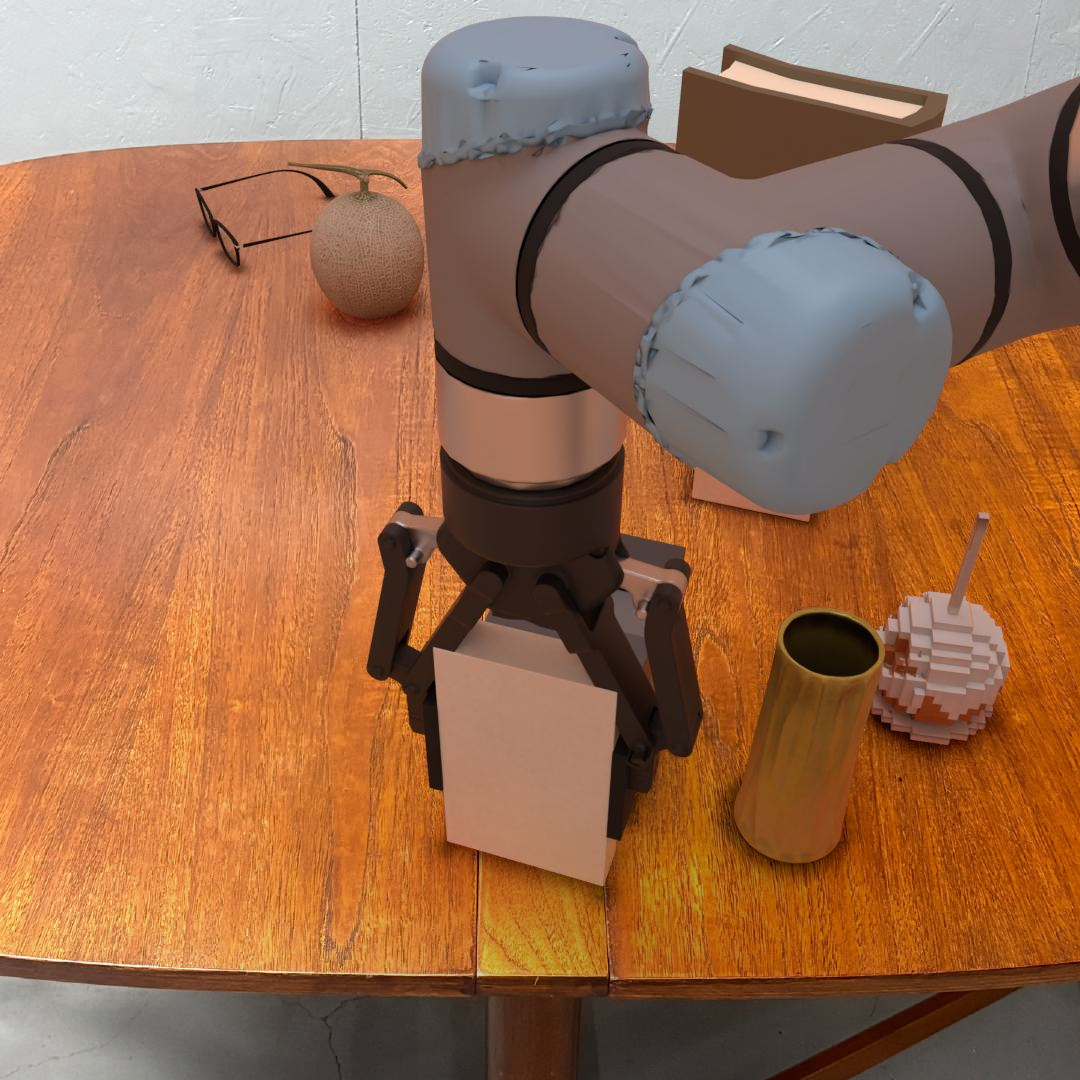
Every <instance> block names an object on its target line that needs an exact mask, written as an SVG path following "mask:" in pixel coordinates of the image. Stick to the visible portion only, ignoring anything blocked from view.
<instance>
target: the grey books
mask: <svg viewBox="0 0 1080 1080" xmlns="http://www.w3.org/2000/svg"><path fill="white" fill-rule="evenodd" d="M620 533H621V537H622V540H623V542H624V544H625V546H626V548H627V550H628V552H629V555H630V558H632V559H635V560H638V561H641V562H645V563H648V564H651V565H654V566H657V567H660V568H663V567H664V565H665V563H666V561H668V560H669V559H673V558H678V559H682V560H684V561H685V558H686V550H687V547H686V546H682V545H677V544H673V543H667V542H664V541H659V540H655V539H651V538H644V537H642V536H641V537H640V536H636V535H631V534H628V533H627V534H626V533H622V532H620ZM611 596H612V598H613V601H614V613H615V616H616V618H617V620H618V622H619V624H620V626H621V628H622V630H623V632H624V634H625V636H626V638H627V640H628V641H629V643H630V645H631V647H632V649H633V651H634V653H635V655H636V657H637V659H638V661H639V663H640V665H641V666H642V668H643V670H644V672H645V674H646V676H647V678H648V680H649V682H650V684H651V686H652V688H653V689H654V691H655V688H654V683H653V679H652V674H651V669H650V664H649V660H648V655H647V650H646V645H645V639H644V627H645V621H646V620H640V619H638V618H637V617H636V615H635V613H636V609H635V608H634V605H633V600H632V597H631V595H630V593H629V592H628V591H626V590H625V589H623V588H619V589H618V590H617V591H616V592H614V593H613V594H612V595H611ZM484 621H485V622H490V623H494V624H498V625H502V626H506V627H510V628H515V629H519V630H523V631H527V632H531V633H536V634H540V635H544V636H548V637H552V638H557V639H560V637H559V635H558V633H557V631H555V630H550V629H546V628H542V627H539V626H537V625H535V624H533V623H530V622H528V621H526V620H509V619H504V618H500V617H496V616H492V610H490V609H489V612H488V614H487V615H486V617H485V619H484Z"/></svg>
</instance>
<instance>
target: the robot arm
mask: <svg viewBox="0 0 1080 1080" xmlns="http://www.w3.org/2000/svg"><path fill="white" fill-rule="evenodd" d="M420 85H421V86H420V99H421V101H420V102H421V103H420V104H421V105H420V107H421V108H420V109H421V149H420V151H419V153H418V154H417V157H416V158H417V168H418V169H420V176H421V177H420V178H421V193H422V204H423V216H424V218H423V219H424V233H425V244H426V257H427V270H428V283H429V284H428V285H429V297H430V299H429V300H430V311H431V323H432V329H433V350H434V377H435V379H434V380H435V405H436V406H435V407H436V430H437V431H436V432H437V436H438V440H439V444H440V446H439V447H440V448H439V466H440V467H439V469H440V483H441V484H440V486H441V487H440V488H441V499H442V500H441V501H442V503H441V504H442V514H443V517H437V516H429V515H428V516H427V515H425V514H424V510H423V509H422V508H421V506H420V505H419V504H417V503H416V502H414V501H411V500H407V501H403V502H401V503H400V505H399V506H398V507H397V509H396V511H394V513H393V515H392V516H391V517H390V519H389V520H388V521H387V523H386V525H385V526H384V527H383V528H382V530H381V532H380V533H379V534H378V536H377V546H378V549H379V553H380V558H381V562H382V566H383V570H384V572H383V578H382V583H381V589H380V594H379V599H378V604H377V609H376V616H375V619H374V625H373V629H372V630H373V631H372V636H371V640H370V647H369V653H368V657H367V662H366V672H367V674H368V675H369V676H370V677H371V678H373V679H374V680H376V681H380V682H385V681H386V680H387V681H388V679H389V678H390V679H391V680H394V681H395V682H397V683H398V684H400V688H401V691H402V692H403V693H404V694H405V696H406V705H407V716H408V726H409V727H410V729H411V732H413V733H415V734H418V735H423V736H424V742H425V752H426V753H425V755H426V766H427V776H428V777H427V778H428V787H429V789H431V790H436V791H438V792H444V791H443V777H442V763H441V750H440V736H439V723H438V709H437V695H436V682H435V668H434V655H433V647H435V648H439V649H443V650H447V651H451V652H455V650H456V649H457V648H458V646H459V645H460V644H461V642H462V641H463V639H464V638H465V637H466V635H467V634H468V632H469V631H470V630H472V629H473V627H474V626H475V624H476V623H477V622H478V620H481V618H482V617H483V615H484V613H485V612H486V611H487V610H489V611H490V610H492V616H496V617H500V618H504V619H509V620H526V621H528V622H530V623H533V624H535V625H537V626H539V627H542V628H546V629H550V630H555V631H557V633H558V635H559V637H560V639H561V640H562V642H563V644H564V646H565V648H566V649H567V651H568V652H569V653H570V654H577V656H578V657H579V659H580V661H581V663H582V665H583V666H584V668H585V670H586V672H587V674H588V675H589V677H590V679H591V681H592V683H593V684H594V686H595V687H598V688H602V689H606V690H610V691H614V692H617V706H616V720H615V724H616V726H617V728H618V730H619V732H620V735H619V737H618V740H617V743H616V745H615V748H614V751H613V753H612V764H611V778H610V792H609V807H608V821H607V835H606V837H607V838H611V839H614V840H617V841H618V842H621V841H622V839H623V836H624V832H625V829H626V827H627V823H628V821H629V818H630V815H631V813H632V808H633V805H634V802H635V798H636V792H637V793H641V794H645V795H647V794H648V793H649V792H650V791H651V789H652V787H653V785H654V781H655V779H656V776H657V772H658V769H659V762H660V754H661V751H667V750H668V752H669V753H670V754H671V755H673V756H675V757H677V758H681V759H683V758H684V759H685V758H689V757H690V756H691V755H692V753H693V751H694V749H695V745H696V741H697V738H698V735H699V732H700V728H701V724H702V721H703V719H704V707H703V701H702V697H701V691H700V686H699V680H698V675H697V669H696V663H695V658H694V652H693V647H692V640H691V636H690V631H689V624H688V619H687V614H686V608H685V602H684V600H685V597H686V593H687V591H688V587H689V583H690V579H691V576H692V567H691V566H690V564H689V563H688V562H687V561H686V560H685V559H684V560H682V559H678V558H673V559H669V560H668V561H666V563H665V565H664V567H663V568H660V567H657V566H654V565H651V564H648V563H645V562H641V561H638V560H635V559H632V558H630V555H629V552H628V550H627V548H626V546H625V544H624V542H623V540H622V537H621V533H622V532H621V523H622V510H623V509H622V508H623V494H624V481H625V480H624V477H625V464H626V450H625V446H624V442H625V440H626V438H627V431H628V430H627V428H628V418H630V419H631V420H632V421H634V423H636V425H638V426H640V427H641V428H642V429H643V430H645V431H646V432H647V433H648V434H650V435H651V436H652V437H653V439H654V441H655V443H657V444H658V445H660V446H662V447H663V448H664V450H665V451H666V452H668V453H669V454H670V455H672V456H673V457H675V459H676V460H677V461H678V462H680V463H683V464H685V465H687V466H688V467H689V468H690V469H693V468H695V467H698V468H700V469H701V470H703V471H704V472H706V473H708V474H709V475H711V476H712V477H714V478H715V479H717V480H718V481H720V482H722V483H723V484H725V485H726V486H728V487H729V488H731V489H733V490H734V491H736V492H737V493H739V494H740V495H742V496H743V497H745V498H747V499H748V500H750V501H751V502H753V503H754V504H756V505H758V506H760V507H762V508H764V509H767V510H770V511H773V512H776V513H782V514H790V515H807V514H810V515H813V514H819V513H822V512H827V511H829V510H832V509H835V508H837V507H840V506H842V505H844V504H846V503H848V502H850V501H851V500H853V499H854V498H856V497H858V496H860V495H862V494H863V493H865V492H866V491H867V490H868V489H869V488H870V487H871V486H872V483H873V482H874V480H875V478H876V476H877V475H878V473H879V472H880V471H881V470H882V469H883V468H884V467H885V466H886V465H888V464H889V465H893V464H896V463H899V462H900V460H901V459H902V458H903V457H904V455H906V453H907V452H908V451H909V450H910V449H911V447H912V446H913V445H914V443H915V442H916V440H917V439H918V438H919V436H920V435H921V433H922V431H923V429H924V428H925V426H926V425H927V424H928V421H929V419H931V416H932V415H933V413H934V412H935V409H936V407H937V404H938V402H939V400H940V398H941V395H942V393H943V390H944V387H945V383H946V380H947V378H948V375H949V370H950V369H951V368H954V367H957V366H959V365H962V364H963V363H965V362H967V361H968V360H970V359H973V358H975V357H978V356H980V355H983V354H986V353H988V352H991V351H993V350H996V349H998V348H1002V347H1004V346H1007V345H1009V344H1012V343H1014V342H1017V341H1019V340H1023V339H1026V338H1029V337H1033V336H1037V335H1039V334H1044V333H1048V332H1051V331H1056V330H1061V329H1062V330H1063V329H1067V328H1072V327H1073V328H1074V327H1077V326H1080V75H1079V76H1076V77H1074V78H1072V79H1069V80H1066V81H1063V82H1060V83H1058V84H1056V85H1053V86H1051V87H1048V88H1046V89H1043V90H1040V91H1038V92H1035V93H1033V94H1030V95H1028V96H1025V97H1023V98H1020V99H1018V100H1015V101H1012V102H1010V103H1008V104H1005V105H1002V106H1000V107H996V108H993V109H991V110H989V111H985V112H983V113H979V114H977V115H974V116H971V117H968V118H964V119H960V120H957V121H955V122H951V123H948V124H945V125H942V126H941V127H939V128H936V129H933V130H929V131H926V132H923V133H920V134H917V135H914V136H911V137H907V138H904V139H900V140H894V141H889V142H885V143H882V144H878V145H875V146H872V147H869V148H866V149H863V150H859V151H855V152H852V153H848V154H845V155H841V156H837V157H834V158H830V159H826V160H823V161H819V162H816V163H812V164H808V165H805V166H801V167H798V168H794V169H791V170H787V171H784V172H781V173H777V174H774V175H770V176H767V177H763V178H759V179H752V180H751V179H737V178H732V177H729V176H727V175H725V174H723V173H721V172H719V171H717V170H715V169H713V168H711V167H709V166H706V165H704V164H702V163H700V162H698V161H696V160H694V159H692V158H690V157H688V156H686V155H683V154H681V153H679V152H677V151H675V149H674V148H673V147H671V146H669V145H667V144H666V143H664V142H662V141H660V140H658V139H656V138H653V137H651V136H650V135H648V131H649V124H650V120H651V117H652V115H653V112H654V108H652V107H653V106H652V103H651V92H650V91H651V89H650V66H649V63H648V60H647V58H646V57H645V54H644V53H643V52H642V51H641V49H640V47H639V45H638V43H637V41H636V40H635V39H634V37H632V36H631V35H630V34H628V33H626V32H624V31H622V30H620V29H618V28H615V27H613V26H611V25H608V24H604V23H600V22H596V21H593V20H587V19H582V18H574V17H565V16H553V15H552V16H550V15H549V16H548V15H525V16H512V17H502V18H496V19H490V20H485V21H480V22H475V23H471V24H467V25H465V26H463V27H461V28H458V29H456V30H454V31H451V32H449V33H448V34H446V35H445V36H443V37H442V38H440V39H439V40H438V41H437V42H436V43H435V44H433V46H432V47H431V48H430V50H429V51H428V53H427V55H426V56H425V58H424V61H423V63H422V68H421V74H420ZM436 549H438V550H439V553H440V554H441V555H442V556H443V558H444V559H445V560H446V561H447V563H448V565H450V567H451V568H452V569H453V570H454V572H455V573H456V574H457V575H458V577H459V578H460V580H461V581H462V582H463V583H464V584H465V585H464V586H463V589H461V591H460V593H459V594H458V596H457V597H456V598H455V600H454V601H453V603H452V604H451V606H450V607H449V609H448V610H447V611H446V613H445V615H444V616H443V618H442V619H441V621H440V622H439V623H438V625H437V627H435V629H434V630H433V632H432V634H431V635H430V636H429V638H428V640H426V641H425V643H424V644H423V646H422V648H421V649H420V650H419V649H416V648H415V647H413V646H411V645H409V644H410V638H411V634H412V629H413V625H414V621H415V616H416V612H417V607H418V603H419V600H420V599H419V598H420V593H421V588H422V586H423V580H424V576H425V571H426V567H427V563H428V561H429V559H430V558H431V557H432V555H433V554H434V552H435V551H436ZM619 588H623V589H625V590H626V591H628V592H629V593H630V595H631V597H632V600H633V605H634V608H635V609H636V613H635V615H636V617H637V618H638V619H640V620H646V621H645V627H644V639H645V645H646V650H647V655H648V660H649V664H650V669H651V674H652V679H653V683H654V688H655V691H654V689H653V688H652V686H651V684H650V682H649V680H648V678H647V676H646V674H645V672H644V670H643V668H642V666H641V665H640V663H639V661H638V659H637V657H636V655H635V653H634V651H633V649H632V647H631V645H630V643H629V641H628V640H627V638H626V636H625V634H624V632H623V630H622V628H621V626H620V624H619V622H618V620H617V618H616V616H615V613H614V601H613V598H612V596H611V595H612V594H613V593H614V592H616V591H617V590H618V589H619Z"/></svg>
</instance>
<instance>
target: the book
mask: <svg viewBox="0 0 1080 1080" xmlns="http://www.w3.org/2000/svg"><path fill="white" fill-rule="evenodd" d="M722 48H723V49H722V58H721V66H720V73H719V74H715V73H712V72H709V71H705V70H702V69H699V68H696V67H693V66H688V67H686V68H684V69H682V73H681V85H680V93H679V107H678V117H677V126H676V127H677V129H676V138H675V149H674V150H675V151H677V152H679V153H681V154H683V155H686V156H688V157H690V158H692V159H694V160H696V161H698V162H700V163H702V164H704V165H706V166H709V167H711V168H713V169H715V170H717V171H719V172H721V173H723V174H725V175H727V176H729V177H732V178H737V179H751V180H752V179H759V178H763V177H767V176H770V175H774V174H777V173H781V172H784V171H787V170H791V169H794V168H798V167H801V166H805V165H808V164H812V163H816V162H819V161H823V160H826V159H830V158H834V157H837V156H841V155H845V154H848V153H852V152H855V151H859V150H863V149H866V148H869V147H872V146H875V145H878V144H882V143H885V142H889V141H894V140H900V139H904V138H907V137H911V136H914V135H917V134H920V133H923V132H926V131H929V130H933V129H936V128H939V127H942V126H943V122H944V118H945V113H946V109H947V104H948V99H949V94H948V93H942V92H936V91H932V90H931V91H930V90H925V89H920V88H915V87H909V86H904V85H900V84H895V83H894V84H893V83H888V82H883V81H877V80H873V79H872V80H871V79H866V78H862V77H857V76H853V75H848V74H842V73H837V72H832V71H827V70H822V69H819V68H813V67H807V66H803V65H798V64H793V63H790V62H786V61H783V60H780V59H777V58H774V57H771V56H768V55H766V54H763V53H759V52H757V51H754V50H750V49H746V48H744V47H741V46H738V45H735V44H731V43H728V44H727V45H724V46H723V47H722Z"/></svg>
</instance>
